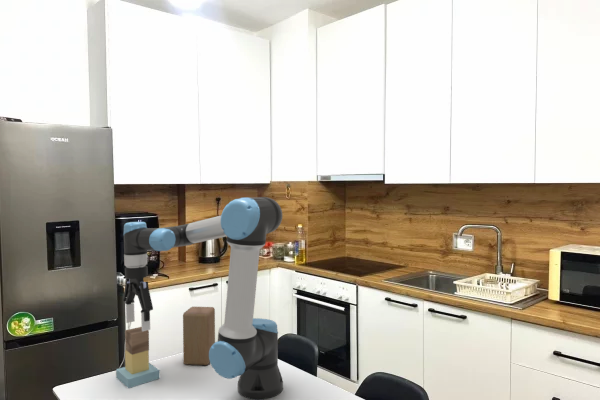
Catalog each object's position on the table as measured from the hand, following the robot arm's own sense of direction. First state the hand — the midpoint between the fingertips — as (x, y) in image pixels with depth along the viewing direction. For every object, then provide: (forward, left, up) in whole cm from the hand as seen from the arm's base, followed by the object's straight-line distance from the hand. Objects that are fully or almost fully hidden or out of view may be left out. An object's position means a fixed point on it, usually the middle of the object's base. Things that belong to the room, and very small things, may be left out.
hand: (138, 326), depth 153 cm
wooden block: (-1, -24, -19) cm, 30 cm away
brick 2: (+1, 0, -16) cm, 16 cm away
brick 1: (+1, 0, -9) cm, 9 cm away
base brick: (0, 0, -19) cm, 19 cm away
